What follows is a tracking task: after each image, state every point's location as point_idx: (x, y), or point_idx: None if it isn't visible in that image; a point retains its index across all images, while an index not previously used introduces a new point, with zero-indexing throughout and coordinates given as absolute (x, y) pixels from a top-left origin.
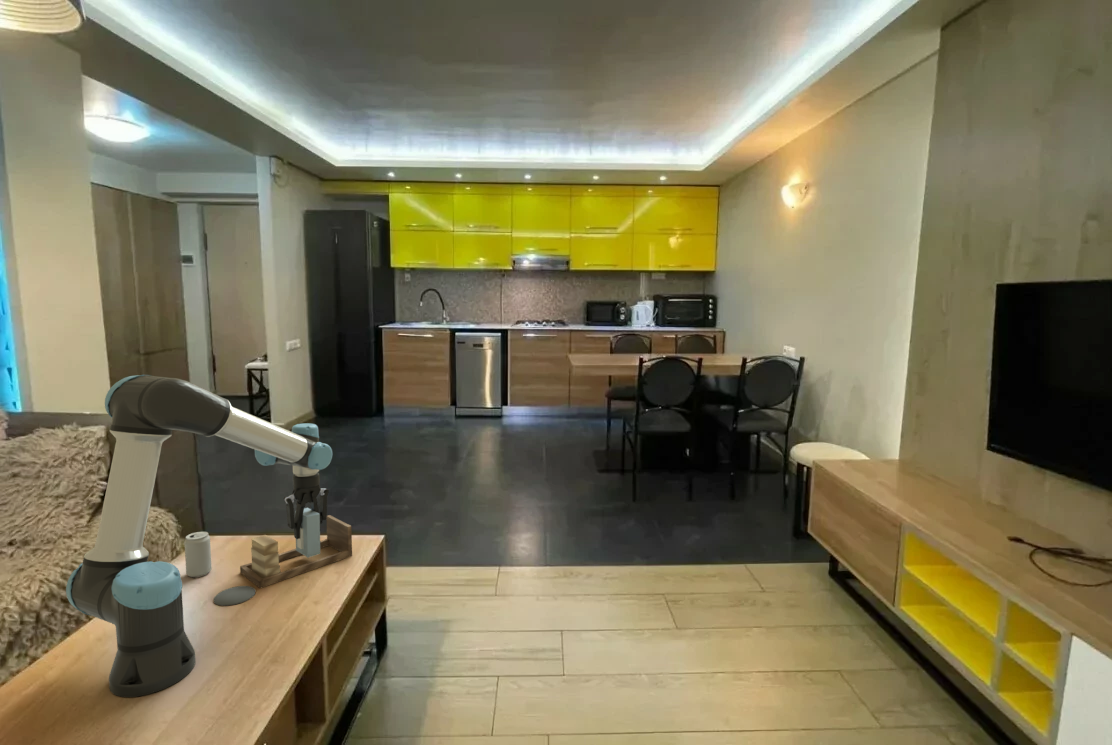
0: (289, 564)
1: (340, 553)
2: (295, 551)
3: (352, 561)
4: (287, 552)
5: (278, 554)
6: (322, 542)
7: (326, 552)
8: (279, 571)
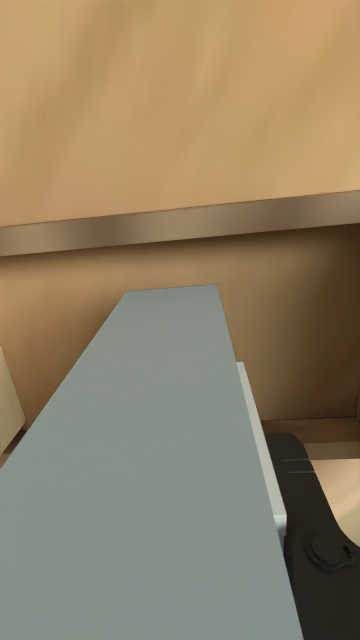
0: (88, 319)
1: (319, 458)
2: (139, 242)
3: (333, 479)
4: (84, 240)
5: (27, 231)
6: (347, 223)
7: (306, 309)
8: (5, 444)
